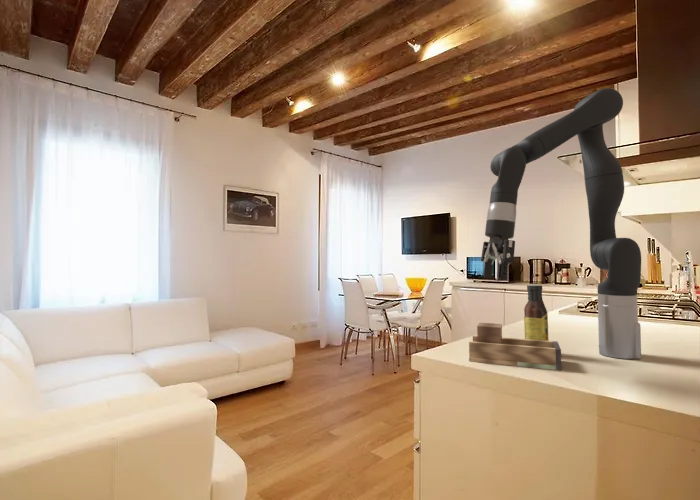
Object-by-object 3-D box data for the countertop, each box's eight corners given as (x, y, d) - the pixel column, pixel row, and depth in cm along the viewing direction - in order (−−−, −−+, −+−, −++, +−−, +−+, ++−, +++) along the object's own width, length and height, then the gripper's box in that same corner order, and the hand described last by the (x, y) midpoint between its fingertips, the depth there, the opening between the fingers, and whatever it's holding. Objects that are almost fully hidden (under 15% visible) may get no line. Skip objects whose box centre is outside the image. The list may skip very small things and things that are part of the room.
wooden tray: (557, 359, 103) (557, 341, 103) (561, 370, 93) (561, 350, 93) (473, 351, 112) (473, 334, 112) (469, 361, 102) (468, 342, 102)
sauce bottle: (551, 356, 106) (550, 285, 106) (528, 355, 107) (526, 285, 108) (544, 350, 112) (543, 284, 113) (522, 349, 114) (521, 284, 114)
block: (502, 352, 106) (501, 323, 106) (501, 357, 101) (500, 327, 101) (479, 350, 109) (479, 322, 109) (477, 355, 103) (477, 326, 103)
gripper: (527, 219, 98) (520, 281, 97) (501, 224, 112) (494, 278, 112) (500, 215, 97) (492, 277, 97) (477, 221, 112) (470, 275, 111)
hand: (494, 278), depth 104 cm, fingers open, 8 cm apart
